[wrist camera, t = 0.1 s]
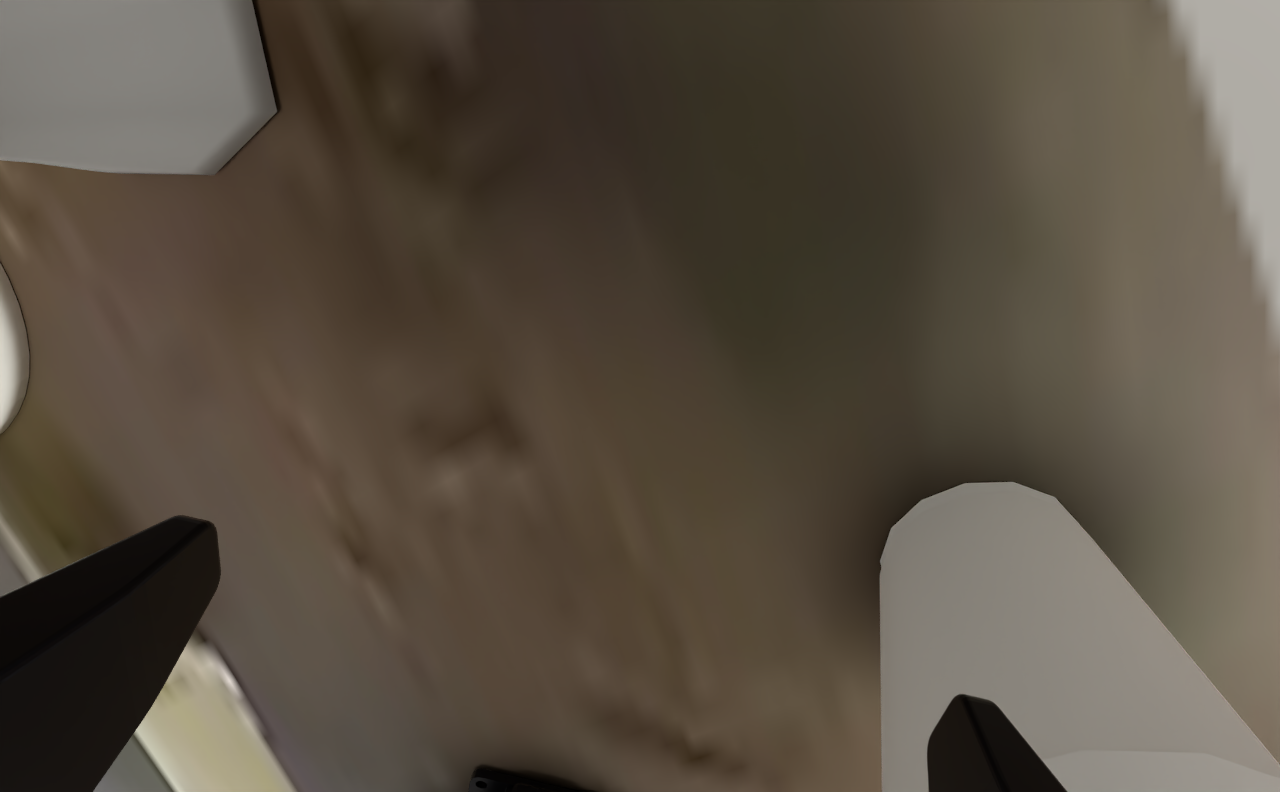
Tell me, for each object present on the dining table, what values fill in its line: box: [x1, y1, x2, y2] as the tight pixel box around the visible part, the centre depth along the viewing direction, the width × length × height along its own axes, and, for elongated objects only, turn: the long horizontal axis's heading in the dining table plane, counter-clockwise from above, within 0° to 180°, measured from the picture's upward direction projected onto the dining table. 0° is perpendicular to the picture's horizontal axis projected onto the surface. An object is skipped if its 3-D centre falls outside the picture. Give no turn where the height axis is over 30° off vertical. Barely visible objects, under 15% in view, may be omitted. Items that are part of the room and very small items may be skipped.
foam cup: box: [880, 482, 1280, 792], centre depth 21 cm, size 10×9×13 cm
